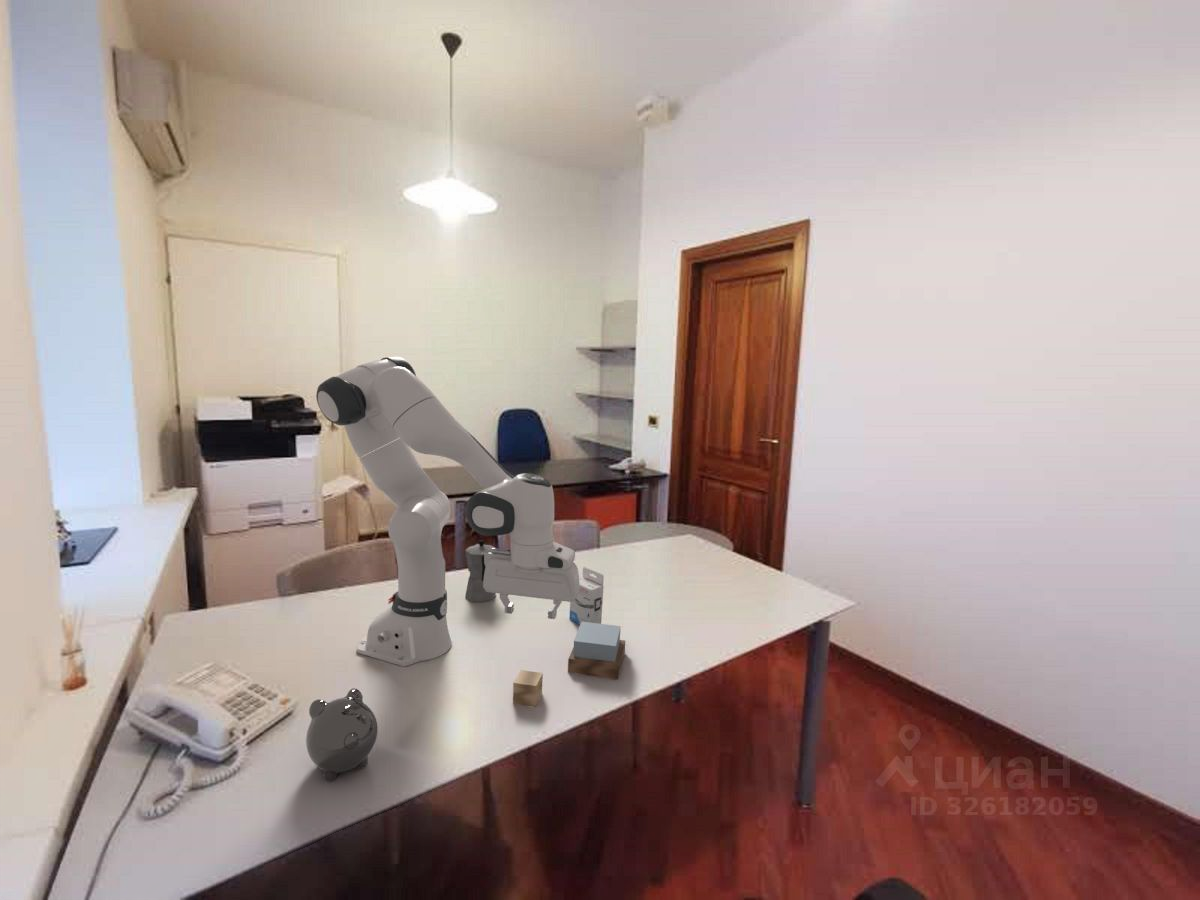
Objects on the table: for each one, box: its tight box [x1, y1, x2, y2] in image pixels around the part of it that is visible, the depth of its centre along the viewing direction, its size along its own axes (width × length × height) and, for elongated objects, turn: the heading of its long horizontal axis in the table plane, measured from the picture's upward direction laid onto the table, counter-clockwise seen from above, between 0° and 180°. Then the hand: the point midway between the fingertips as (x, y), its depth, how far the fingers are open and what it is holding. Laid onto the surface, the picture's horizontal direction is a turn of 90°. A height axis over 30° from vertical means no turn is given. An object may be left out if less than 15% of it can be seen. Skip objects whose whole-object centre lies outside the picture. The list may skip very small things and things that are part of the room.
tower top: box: [573, 622, 622, 662], centre depth 132 cm, size 10×10×4 cm
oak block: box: [512, 669, 544, 708], centre depth 117 cm, size 5×5×5 cm
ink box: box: [569, 566, 605, 625], centre depth 152 cm, size 9×5×15 cm, turn 47°
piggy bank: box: [305, 687, 379, 782], centre depth 95 cm, size 11×15×12 cm
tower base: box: [567, 639, 626, 681], centre depth 133 cm, size 12×12×4 cm
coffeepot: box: [464, 539, 498, 603], centre depth 165 cm, size 15×9×18 cm, turn 19°
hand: (530, 615), depth 114 cm, fingers open, 8 cm apart
